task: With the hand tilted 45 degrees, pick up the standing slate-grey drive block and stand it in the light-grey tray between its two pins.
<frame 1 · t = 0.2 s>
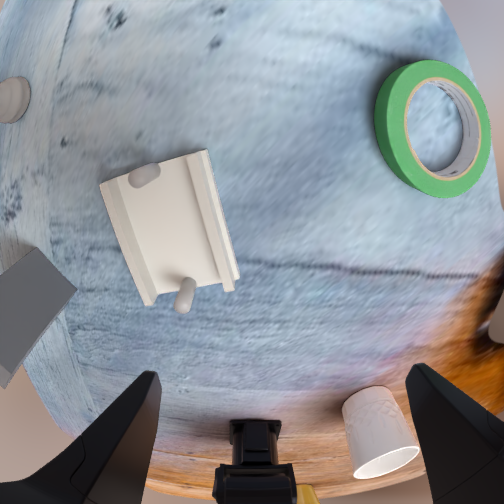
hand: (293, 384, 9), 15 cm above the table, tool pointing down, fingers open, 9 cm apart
plant pot: (297, 487, 45), on the table
rook chess piece: (18, 99, 17), on the table
tray: (174, 226, 22), on the table
drive: (49, 279, 24), on the table
tape roll: (428, 127, 19), on the table
white cup: (365, 400, 32), on the table
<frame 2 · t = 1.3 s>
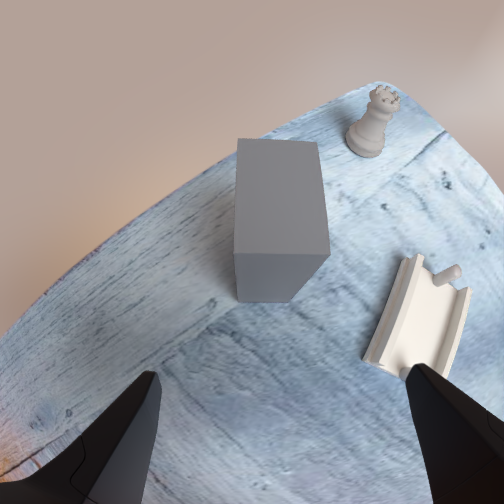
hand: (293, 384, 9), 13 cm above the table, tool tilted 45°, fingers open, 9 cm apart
rook chess piece: (362, 145, 29), on the table
tray: (417, 326, 22), on the table
drive: (263, 266, 24), on the table
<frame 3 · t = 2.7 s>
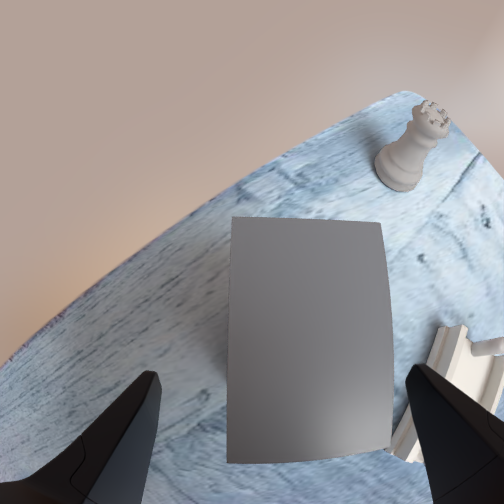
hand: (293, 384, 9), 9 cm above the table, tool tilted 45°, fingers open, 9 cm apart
rook chess piece: (393, 174, 23), on the table
tray: (448, 403, 16), on the table
drive: (269, 349, 18), on the table
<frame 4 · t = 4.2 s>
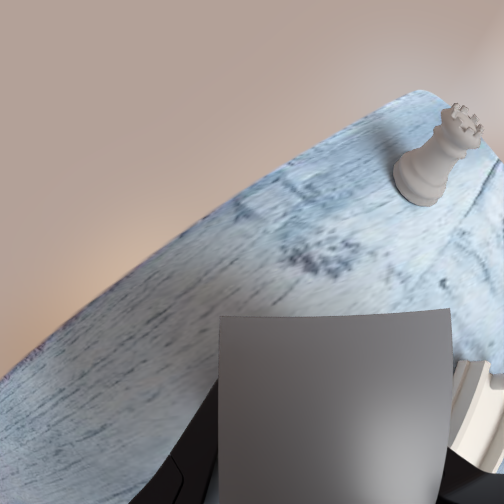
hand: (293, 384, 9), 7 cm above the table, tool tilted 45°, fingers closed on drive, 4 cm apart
rook chess piece: (413, 185, 20), on the table
tray: (463, 438, 13), on the table
drive: (272, 395, 14), on the table, touching gripper
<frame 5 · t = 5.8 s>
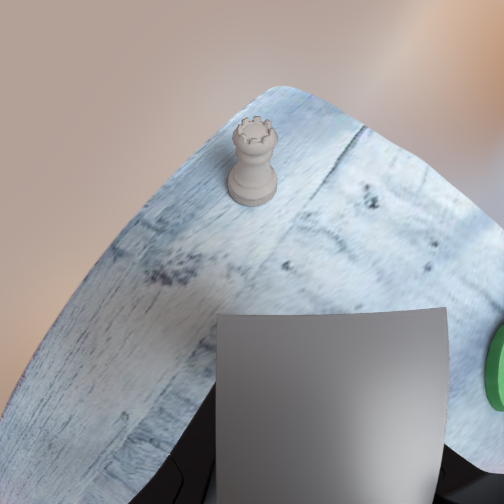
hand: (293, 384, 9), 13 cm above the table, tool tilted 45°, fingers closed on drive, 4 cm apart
rook chess piece: (252, 188, 26), on the table
drive: (272, 394, 15), point 7 cm above the table, touching gripper
when the fingers open (9 cm above the table, at t = 7.6 s): drive drops 1 cm, resting on tray.
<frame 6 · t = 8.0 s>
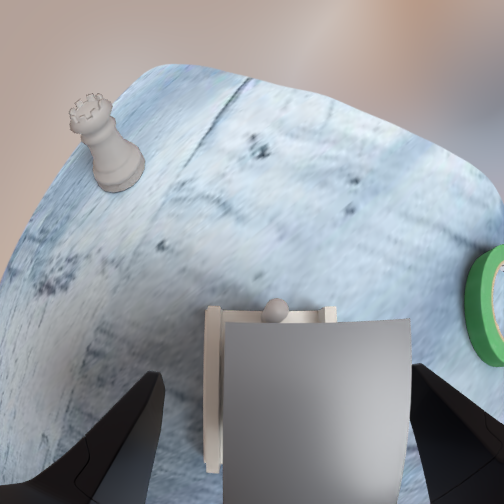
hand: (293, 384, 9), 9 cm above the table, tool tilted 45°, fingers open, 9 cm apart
rook chess piece: (122, 173, 22), on the table
tray: (269, 389, 17), on the table
drive: (269, 390, 16), point 1 cm above the table, touching tray
tape roll: (497, 309, 19), on the table
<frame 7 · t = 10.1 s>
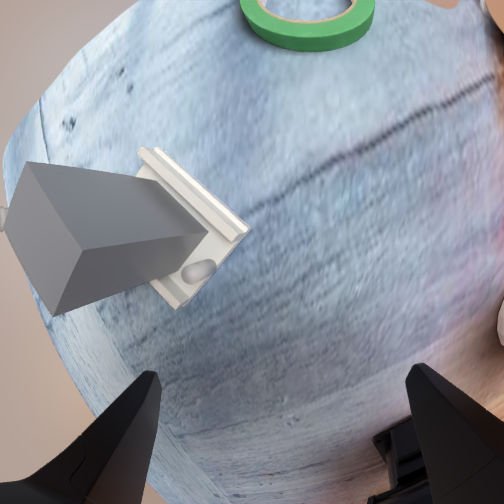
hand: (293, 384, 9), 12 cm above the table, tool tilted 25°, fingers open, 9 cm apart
rook chess piece: (38, 217, 27), on the table
tray: (173, 224, 22), on the table
drive: (166, 225, 21), point 1 cm above the table, touching tray
tape roll: (309, 9, 18), on the table
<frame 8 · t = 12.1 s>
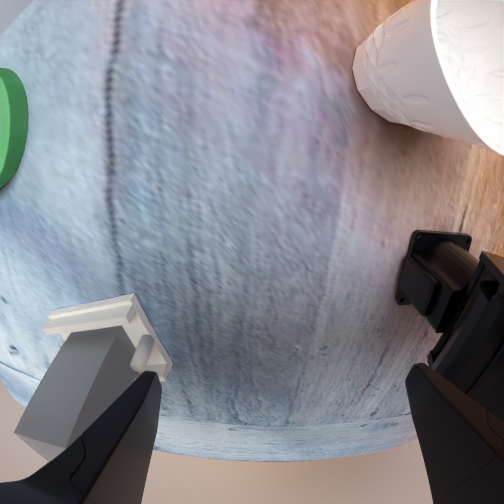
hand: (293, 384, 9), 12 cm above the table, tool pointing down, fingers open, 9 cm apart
tray: (109, 337, 23), on the table
drive: (105, 345, 23), point 1 cm above the table, touching tray
white cup: (395, 77, 15), on the table
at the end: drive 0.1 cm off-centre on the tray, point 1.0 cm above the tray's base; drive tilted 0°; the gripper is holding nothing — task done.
